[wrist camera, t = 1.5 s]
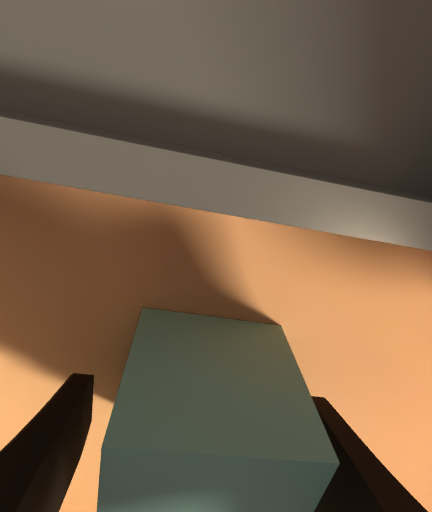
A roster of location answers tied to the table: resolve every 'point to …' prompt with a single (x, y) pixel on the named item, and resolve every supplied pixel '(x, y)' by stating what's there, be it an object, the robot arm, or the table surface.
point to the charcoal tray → (228, 107)
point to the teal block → (212, 422)
